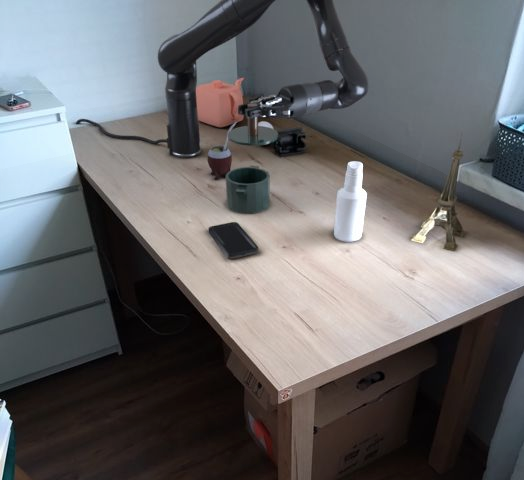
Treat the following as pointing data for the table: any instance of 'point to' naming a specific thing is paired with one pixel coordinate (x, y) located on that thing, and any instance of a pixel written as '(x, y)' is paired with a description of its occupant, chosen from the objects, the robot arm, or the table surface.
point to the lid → (253, 133)
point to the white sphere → (265, 125)
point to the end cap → (289, 142)
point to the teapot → (219, 103)
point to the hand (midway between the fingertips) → (242, 112)
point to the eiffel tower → (447, 201)
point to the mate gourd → (220, 159)
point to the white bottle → (350, 205)
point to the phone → (233, 240)
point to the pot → (248, 189)
